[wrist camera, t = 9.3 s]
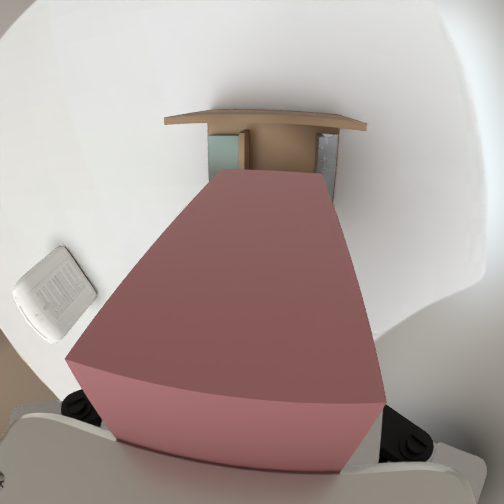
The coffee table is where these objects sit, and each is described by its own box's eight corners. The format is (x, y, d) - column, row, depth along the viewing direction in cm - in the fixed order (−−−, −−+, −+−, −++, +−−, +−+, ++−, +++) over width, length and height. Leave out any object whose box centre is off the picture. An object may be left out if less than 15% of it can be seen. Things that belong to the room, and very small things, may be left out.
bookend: (328, 227, 32) (332, 242, 29) (309, 226, 32) (310, 240, 29) (337, 134, 27) (343, 139, 24) (316, 132, 28) (319, 136, 25)
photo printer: (51, 251, 40) (1, 295, 29) (64, 241, 39) (11, 286, 28) (87, 302, 44) (47, 353, 33) (102, 295, 43) (60, 349, 32)
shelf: (326, 240, 34) (339, 306, 23) (213, 233, 35) (180, 293, 25) (338, 114, 27) (366, 123, 17) (209, 110, 29) (164, 117, 18)
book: (299, 353, 16) (289, 529, 8) (229, 347, 17) (185, 516, 8) (321, 173, 12) (386, 402, 3) (221, 168, 12) (64, 359, 3)
